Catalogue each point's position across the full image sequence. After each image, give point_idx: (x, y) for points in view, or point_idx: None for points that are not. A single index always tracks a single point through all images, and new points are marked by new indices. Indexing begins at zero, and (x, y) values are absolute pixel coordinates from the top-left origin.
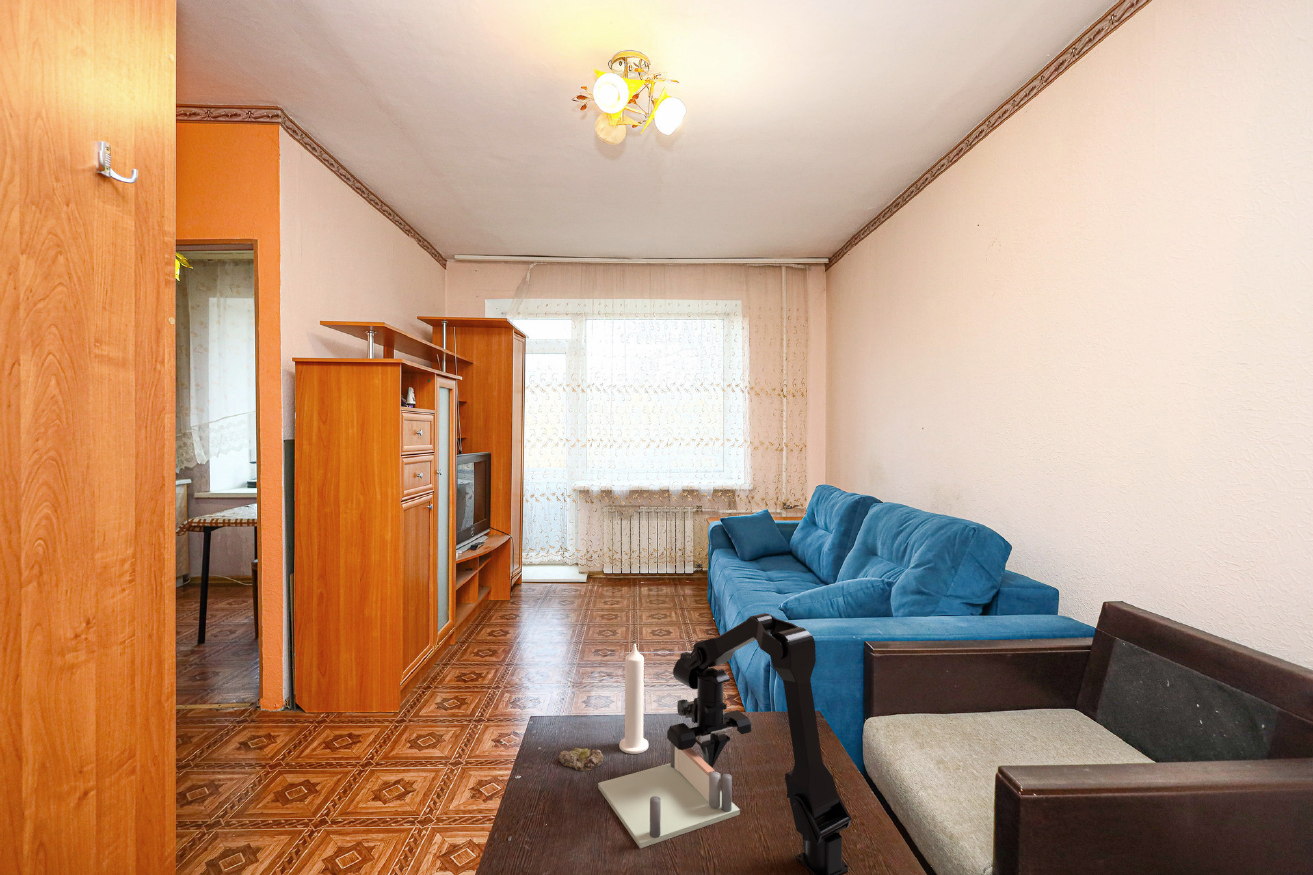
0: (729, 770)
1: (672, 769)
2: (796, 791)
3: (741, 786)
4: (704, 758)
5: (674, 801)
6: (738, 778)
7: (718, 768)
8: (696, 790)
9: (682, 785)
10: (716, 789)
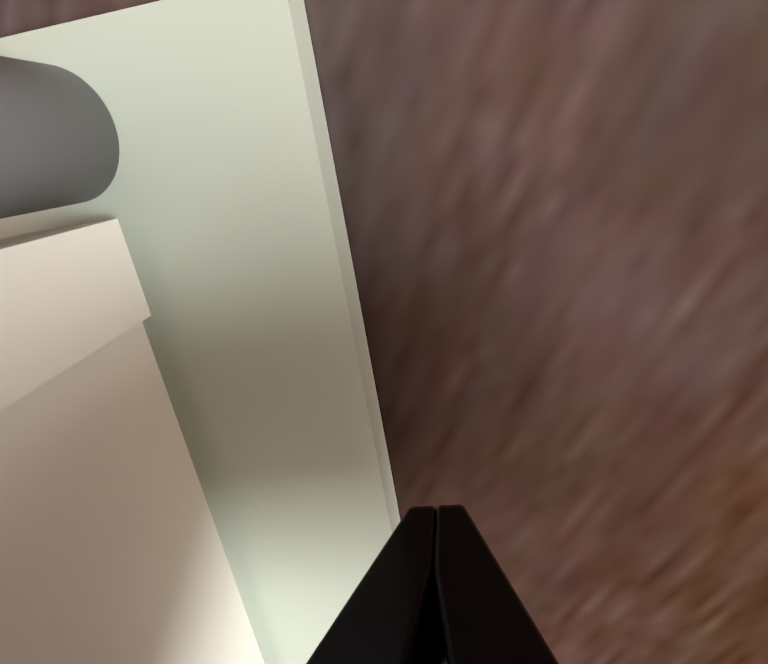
0: (761, 362)
1: (19, 220)
2: None
3: (674, 615)
4: (354, 597)
5: None
6: (742, 517)
7: (658, 279)
8: None
9: None
10: None
